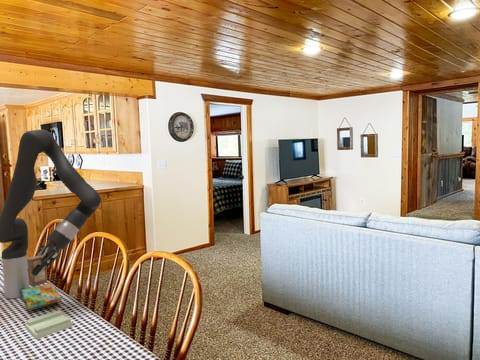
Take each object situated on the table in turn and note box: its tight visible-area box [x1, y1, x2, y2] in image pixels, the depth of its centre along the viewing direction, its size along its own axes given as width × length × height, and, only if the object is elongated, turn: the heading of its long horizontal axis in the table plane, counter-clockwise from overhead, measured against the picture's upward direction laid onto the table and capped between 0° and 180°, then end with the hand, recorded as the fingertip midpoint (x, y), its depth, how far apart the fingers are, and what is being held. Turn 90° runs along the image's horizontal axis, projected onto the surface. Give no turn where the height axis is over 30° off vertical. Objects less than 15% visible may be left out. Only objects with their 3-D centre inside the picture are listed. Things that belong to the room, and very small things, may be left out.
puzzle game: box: [21, 282, 62, 311], centre depth 149 cm, size 12×5×20 cm
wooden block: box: [27, 255, 48, 288], centre depth 133 cm, size 4×5×10 cm
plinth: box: [24, 309, 74, 340], centre depth 128 cm, size 11×12×3 cm
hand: (31, 273), depth 132 cm, fingers closed on wooden block, 4 cm apart
